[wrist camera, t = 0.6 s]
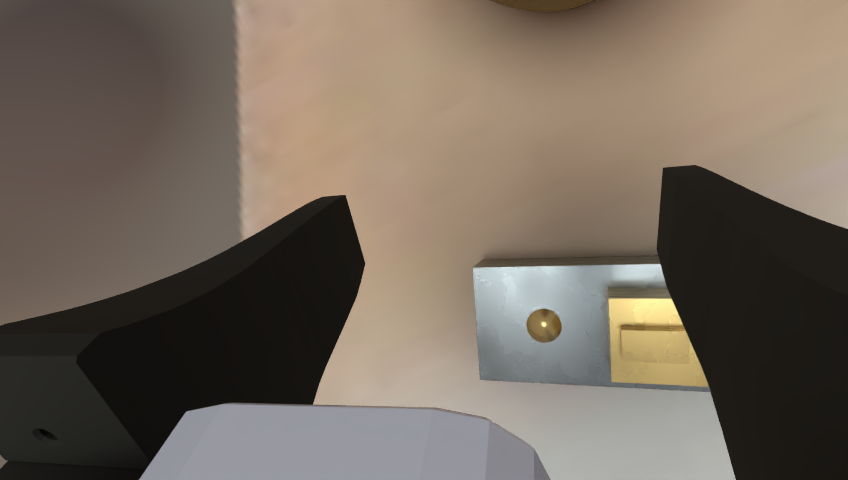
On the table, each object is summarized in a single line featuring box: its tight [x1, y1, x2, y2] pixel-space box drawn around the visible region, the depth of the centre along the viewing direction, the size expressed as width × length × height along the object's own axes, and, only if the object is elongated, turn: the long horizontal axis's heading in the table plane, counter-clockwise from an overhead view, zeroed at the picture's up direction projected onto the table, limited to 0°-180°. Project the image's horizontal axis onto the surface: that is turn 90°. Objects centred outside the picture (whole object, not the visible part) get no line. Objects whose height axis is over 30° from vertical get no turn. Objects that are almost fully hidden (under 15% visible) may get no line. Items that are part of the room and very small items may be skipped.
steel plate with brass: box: [473, 255, 711, 392], centre depth 28 cm, size 7×20×3 cm, turn 95°
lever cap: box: [607, 288, 709, 387], centre depth 25 cm, size 4×7×3 cm, turn 95°
